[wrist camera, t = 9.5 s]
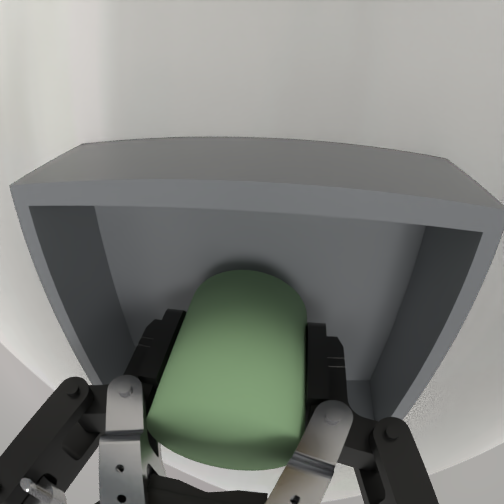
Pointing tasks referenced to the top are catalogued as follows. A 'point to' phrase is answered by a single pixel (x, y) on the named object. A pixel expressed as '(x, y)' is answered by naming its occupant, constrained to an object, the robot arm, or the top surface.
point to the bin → (264, 246)
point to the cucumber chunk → (236, 375)
